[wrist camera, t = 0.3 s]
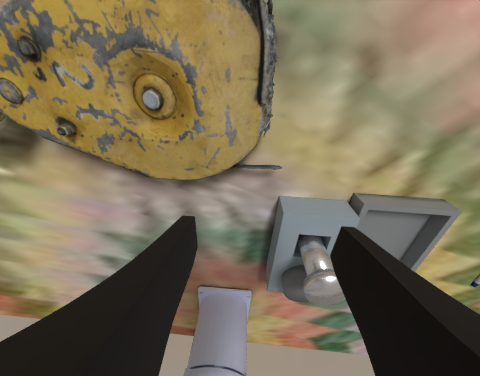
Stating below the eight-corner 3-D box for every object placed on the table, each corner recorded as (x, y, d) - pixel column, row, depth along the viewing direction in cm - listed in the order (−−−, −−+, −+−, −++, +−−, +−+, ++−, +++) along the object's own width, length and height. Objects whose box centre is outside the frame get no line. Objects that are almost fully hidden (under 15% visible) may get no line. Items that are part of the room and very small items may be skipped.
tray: (387, 279, 26) (396, 294, 24) (320, 274, 26) (325, 288, 24) (443, 199, 19) (462, 211, 18) (354, 193, 19) (364, 204, 18)
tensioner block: (316, 274, 26) (328, 308, 22) (265, 270, 26) (268, 303, 22) (346, 200, 20) (369, 230, 16) (279, 195, 20) (286, 223, 16)
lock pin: (315, 239, 23) (343, 306, 16) (285, 237, 23) (300, 303, 16) (324, 216, 21) (358, 280, 14) (291, 213, 21) (310, 276, 14)
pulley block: (-428, -118, 7) (356, -97, 7) (-168, -59, 12) (314, -43, 11) (-69, 178, 16) (284, 199, 16) (2, 147, 21) (277, 162, 20)
